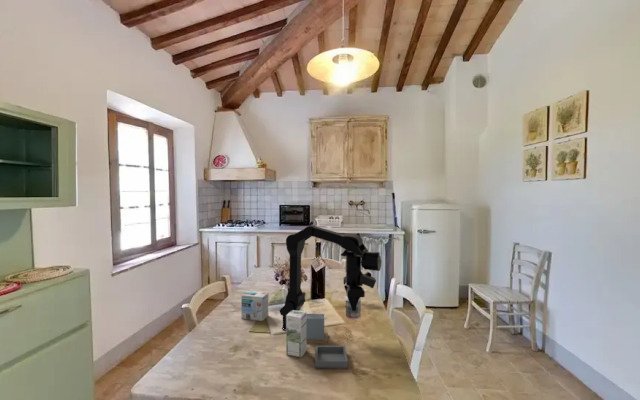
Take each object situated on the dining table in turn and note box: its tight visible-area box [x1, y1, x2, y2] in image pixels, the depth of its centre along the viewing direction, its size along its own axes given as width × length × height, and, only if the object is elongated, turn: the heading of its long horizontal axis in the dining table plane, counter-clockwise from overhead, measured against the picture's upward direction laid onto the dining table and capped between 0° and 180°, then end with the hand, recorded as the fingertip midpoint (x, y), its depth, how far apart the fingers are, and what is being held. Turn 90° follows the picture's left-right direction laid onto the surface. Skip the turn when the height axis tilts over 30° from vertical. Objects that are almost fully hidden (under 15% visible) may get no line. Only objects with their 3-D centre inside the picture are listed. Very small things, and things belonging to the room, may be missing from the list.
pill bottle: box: [345, 296, 362, 320], centre depth 128 cm, size 6×6×10 cm
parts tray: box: [314, 345, 349, 370], centre depth 113 cm, size 11×11×2 cm
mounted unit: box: [306, 313, 329, 344], centre depth 129 cm, size 11×7×9 cm, turn 90°
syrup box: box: [285, 310, 308, 358], centre depth 117 cm, size 6×6×14 cm
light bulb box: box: [240, 290, 269, 322], centre depth 150 cm, size 11×7×11 cm, turn 74°
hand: (353, 307), depth 128 cm, fingers closed on pill bottle, 6 cm apart
